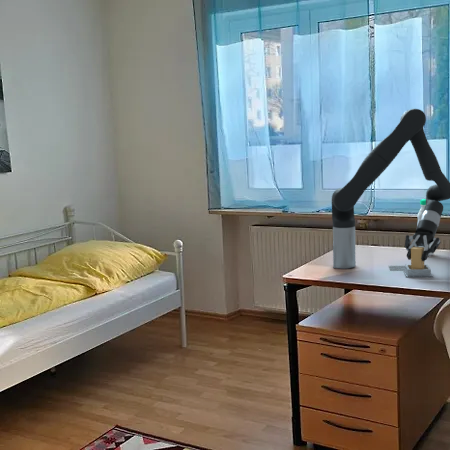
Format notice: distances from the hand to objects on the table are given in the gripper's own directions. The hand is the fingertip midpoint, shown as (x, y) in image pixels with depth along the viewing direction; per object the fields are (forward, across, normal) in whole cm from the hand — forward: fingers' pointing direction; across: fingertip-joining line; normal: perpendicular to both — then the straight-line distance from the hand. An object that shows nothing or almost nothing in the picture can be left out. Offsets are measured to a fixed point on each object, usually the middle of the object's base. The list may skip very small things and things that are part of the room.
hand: (415, 259), depth 250 cm
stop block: (+3, 0, +6) cm, 6 cm away
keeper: (+4, 0, +6) cm, 7 cm away
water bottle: (-24, -13, +34) cm, 43 cm away
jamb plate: (-2, -9, +11) cm, 15 cm away
